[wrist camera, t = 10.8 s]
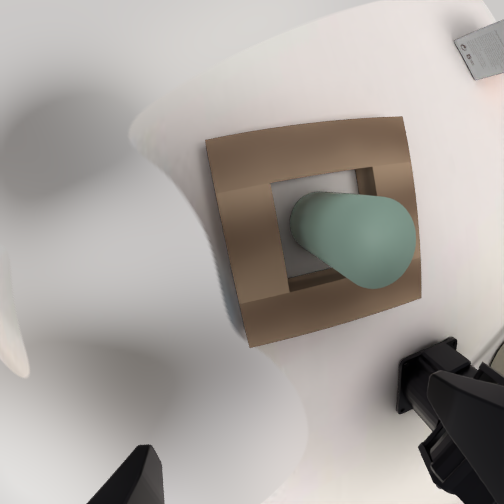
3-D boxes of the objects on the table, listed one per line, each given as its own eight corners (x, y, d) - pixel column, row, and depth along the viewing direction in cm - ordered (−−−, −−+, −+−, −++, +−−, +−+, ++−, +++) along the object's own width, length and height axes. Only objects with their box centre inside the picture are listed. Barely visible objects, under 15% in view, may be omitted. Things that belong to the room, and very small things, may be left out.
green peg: (350, 245, 21) (418, 276, 13) (295, 257, 21) (342, 298, 13) (342, 187, 20) (411, 190, 13) (285, 197, 20) (330, 205, 12)
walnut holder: (403, 287, 22) (421, 297, 20) (245, 330, 21) (249, 347, 19) (383, 122, 20) (402, 116, 17) (206, 145, 19) (205, 140, 16)
